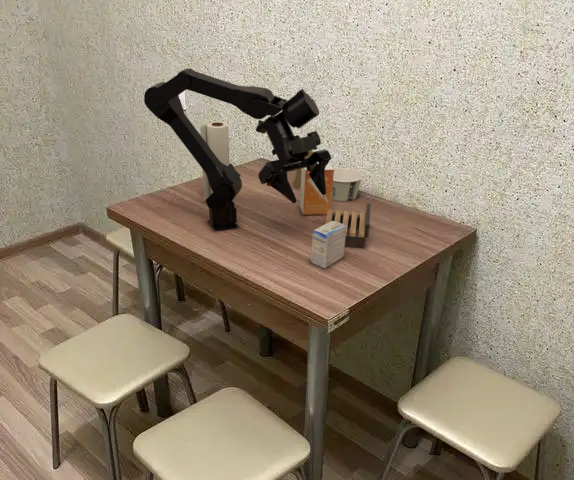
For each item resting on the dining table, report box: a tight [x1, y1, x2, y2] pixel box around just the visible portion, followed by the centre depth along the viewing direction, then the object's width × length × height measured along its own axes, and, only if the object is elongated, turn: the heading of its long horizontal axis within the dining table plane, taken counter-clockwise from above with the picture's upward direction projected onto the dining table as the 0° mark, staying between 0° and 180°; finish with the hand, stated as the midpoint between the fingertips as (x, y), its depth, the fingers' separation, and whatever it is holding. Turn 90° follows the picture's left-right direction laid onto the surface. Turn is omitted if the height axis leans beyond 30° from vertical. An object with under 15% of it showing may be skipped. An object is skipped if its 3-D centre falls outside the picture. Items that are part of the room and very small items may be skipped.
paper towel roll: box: [199, 121, 230, 202], centre depth 164 cm, size 7×6×21 cm
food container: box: [332, 167, 364, 202], centre depth 173 cm, size 12×12×6 cm
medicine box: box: [310, 221, 348, 269], centre depth 138 cm, size 8×4×9 cm, turn 141°
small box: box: [299, 161, 334, 216], centre depth 161 cm, size 8×6×13 cm
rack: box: [324, 203, 372, 249], centre depth 150 cm, size 11×14×6 cm
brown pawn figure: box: [294, 150, 314, 189], centre depth 178 cm, size 6×6×11 cm
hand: (310, 198), depth 137 cm, fingers open, 9 cm apart
